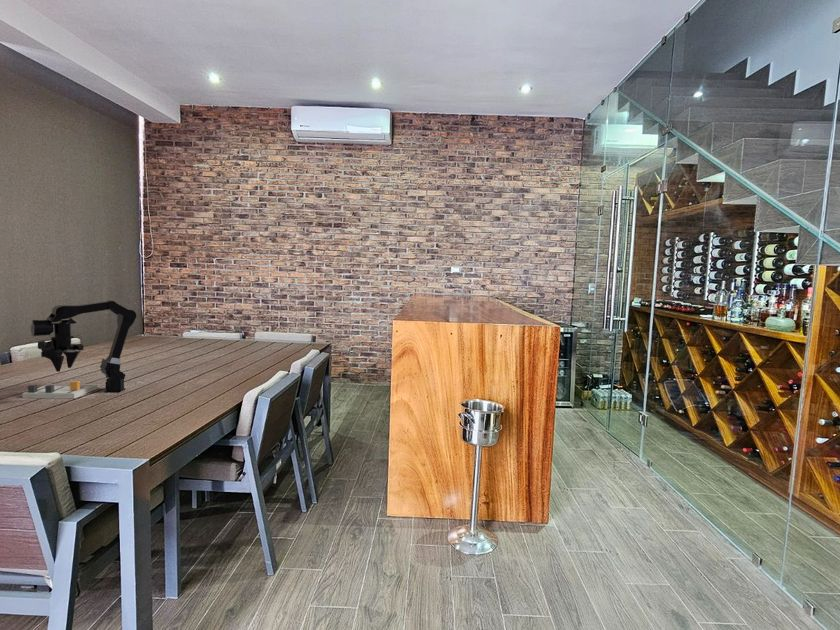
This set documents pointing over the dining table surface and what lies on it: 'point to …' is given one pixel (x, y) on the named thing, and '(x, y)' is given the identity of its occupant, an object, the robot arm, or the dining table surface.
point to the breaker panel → (57, 391)
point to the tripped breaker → (74, 385)
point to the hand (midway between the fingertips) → (63, 369)
